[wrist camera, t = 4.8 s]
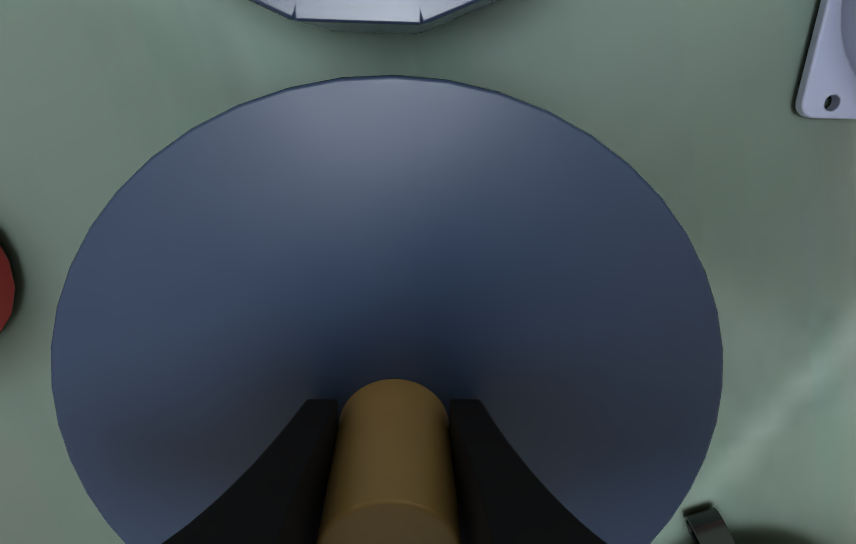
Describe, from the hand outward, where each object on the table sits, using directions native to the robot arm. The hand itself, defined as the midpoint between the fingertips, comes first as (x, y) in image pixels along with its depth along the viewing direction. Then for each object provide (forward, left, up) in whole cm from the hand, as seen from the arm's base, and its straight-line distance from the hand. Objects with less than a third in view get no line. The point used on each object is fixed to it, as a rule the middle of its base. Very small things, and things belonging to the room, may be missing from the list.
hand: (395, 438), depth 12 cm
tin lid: (0, 0, -1) cm, 1 cm away
